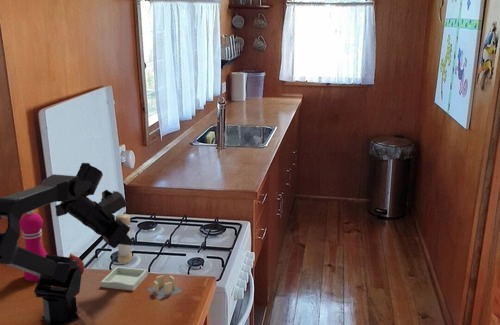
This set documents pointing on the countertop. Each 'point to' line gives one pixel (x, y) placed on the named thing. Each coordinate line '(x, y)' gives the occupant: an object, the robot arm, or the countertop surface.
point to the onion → (77, 262)
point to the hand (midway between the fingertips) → (129, 241)
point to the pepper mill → (32, 237)
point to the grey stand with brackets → (164, 288)
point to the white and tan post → (124, 250)
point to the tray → (124, 278)
